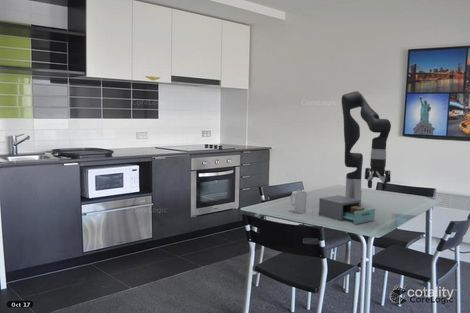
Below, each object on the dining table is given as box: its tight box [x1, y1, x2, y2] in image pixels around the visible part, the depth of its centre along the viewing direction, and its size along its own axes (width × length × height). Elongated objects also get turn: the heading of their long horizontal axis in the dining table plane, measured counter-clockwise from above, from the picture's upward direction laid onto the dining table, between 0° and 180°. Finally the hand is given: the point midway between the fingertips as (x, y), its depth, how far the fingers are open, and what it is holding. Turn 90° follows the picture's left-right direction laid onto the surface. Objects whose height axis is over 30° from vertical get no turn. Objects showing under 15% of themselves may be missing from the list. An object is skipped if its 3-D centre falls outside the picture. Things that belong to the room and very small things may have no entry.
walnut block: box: [351, 206, 366, 215], centre depth 229 cm, size 5×5×5 cm
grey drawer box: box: [318, 194, 362, 222], centre depth 239 cm, size 16×16×10 cm
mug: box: [289, 190, 308, 214], centre depth 248 cm, size 10×7×12 cm, turn 52°
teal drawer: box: [343, 208, 376, 225], centre depth 232 cm, size 16×16×6 cm
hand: (376, 189), depth 219 cm, fingers open, 8 cm apart
